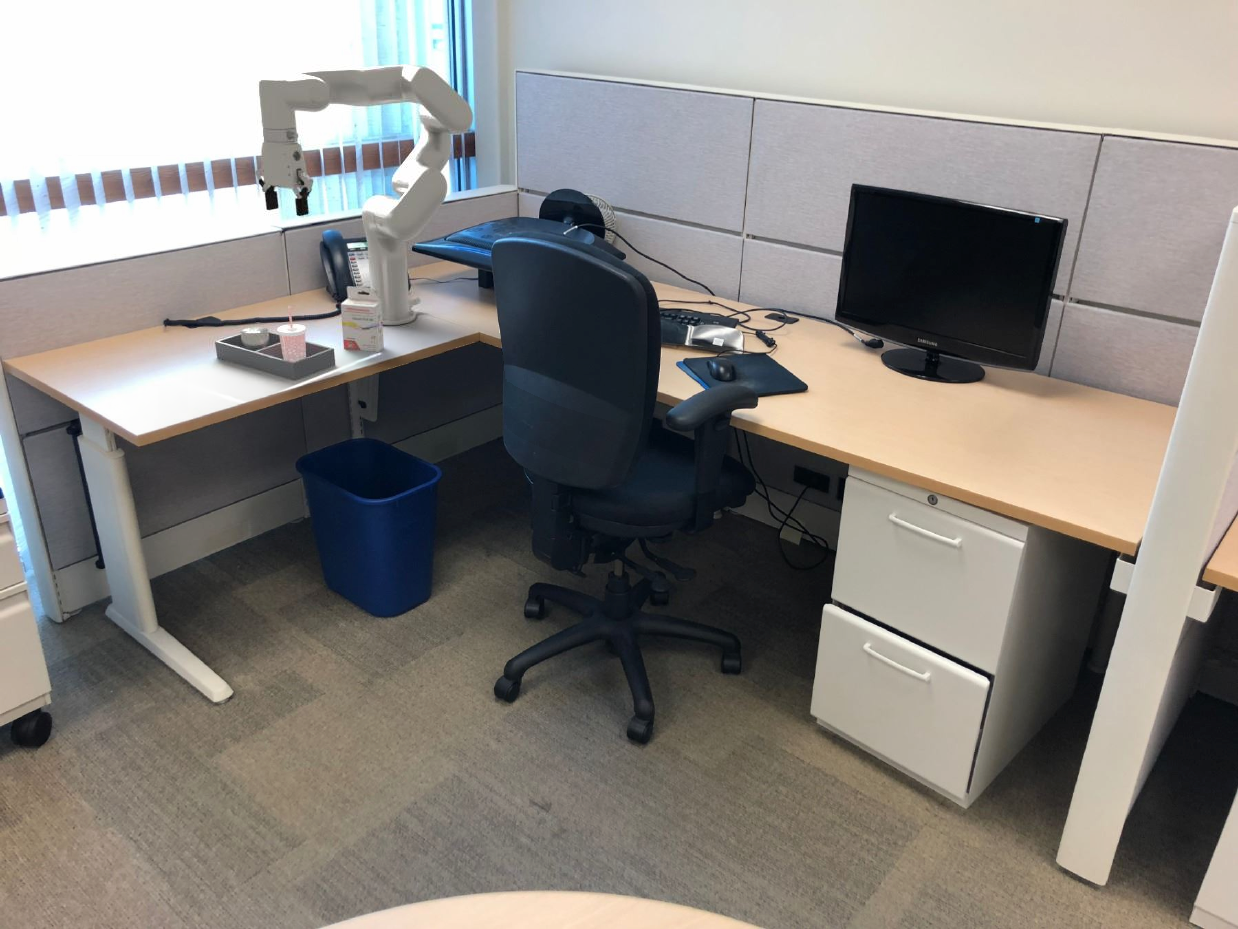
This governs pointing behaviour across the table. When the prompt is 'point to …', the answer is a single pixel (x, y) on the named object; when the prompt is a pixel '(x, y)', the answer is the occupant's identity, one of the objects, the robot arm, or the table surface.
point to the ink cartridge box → (362, 320)
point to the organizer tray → (276, 357)
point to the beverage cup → (292, 340)
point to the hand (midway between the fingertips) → (287, 212)
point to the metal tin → (255, 338)
